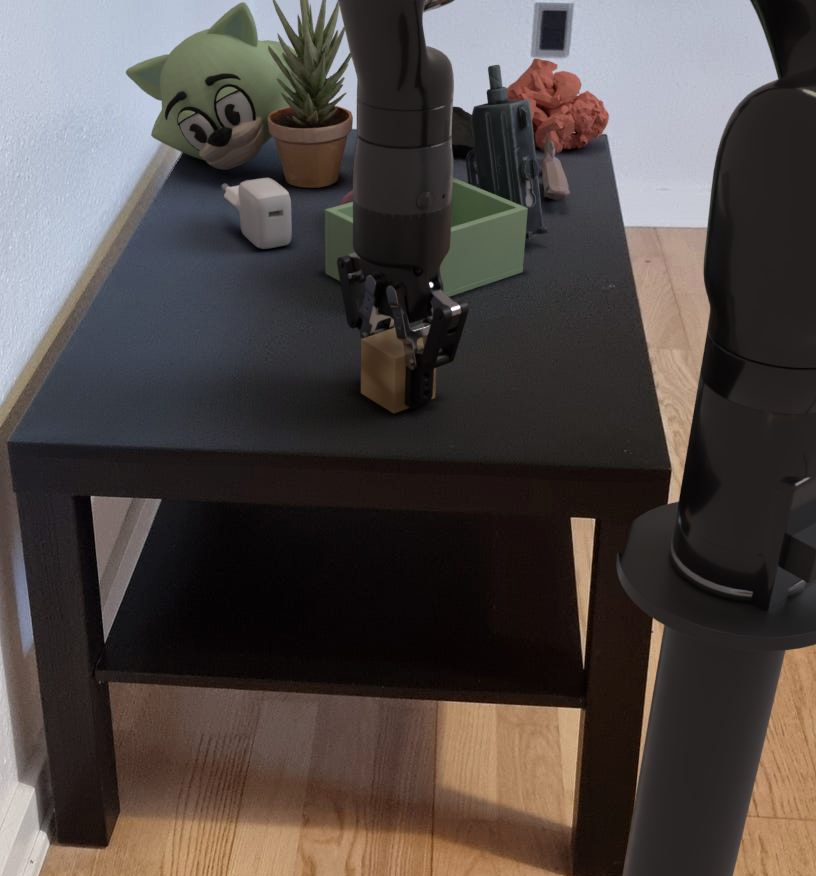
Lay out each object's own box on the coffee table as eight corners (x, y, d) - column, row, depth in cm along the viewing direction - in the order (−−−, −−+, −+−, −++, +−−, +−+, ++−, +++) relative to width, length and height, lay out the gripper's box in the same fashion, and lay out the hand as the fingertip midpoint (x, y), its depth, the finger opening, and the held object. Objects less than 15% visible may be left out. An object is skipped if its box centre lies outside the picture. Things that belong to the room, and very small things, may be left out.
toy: (177, 225, 156) (99, 121, 147) (189, 145, 169) (118, 45, 160) (328, 145, 149) (256, 31, 140) (328, 68, 162) (262, -40, 153)
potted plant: (284, 161, 159) (278, -62, 145) (361, 168, 156) (363, -58, 143) (257, 190, 151) (248, -44, 137) (338, 198, 148) (337, -39, 135)
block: (435, 398, 110) (437, 343, 107) (393, 414, 108) (395, 358, 105) (401, 378, 113) (402, 324, 110) (360, 393, 111) (360, 338, 108)
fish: (553, 171, 156) (558, 129, 153) (568, 220, 145) (574, 176, 142) (530, 171, 156) (535, 129, 153) (544, 219, 145) (549, 175, 142)
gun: (430, 69, 142) (531, 60, 130) (451, 228, 148) (549, 232, 136) (411, 74, 140) (511, 65, 129) (433, 233, 146) (530, 239, 135)
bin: (522, 272, 132) (528, 208, 128) (399, 313, 124) (401, 246, 120) (445, 237, 139) (448, 175, 136) (325, 273, 132) (324, 209, 128)
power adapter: (215, 217, 144) (212, 164, 141) (257, 210, 146) (255, 157, 143) (255, 254, 136) (252, 198, 132) (298, 246, 137) (297, 190, 134)
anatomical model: (601, 143, 166) (552, 212, 158) (514, 96, 168) (461, 162, 160) (629, 81, 158) (579, 150, 150) (538, 32, 160) (483, 99, 152)
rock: (463, 167, 157) (474, 125, 154) (413, 147, 159) (423, 106, 157) (495, 154, 164) (506, 114, 162) (446, 136, 167) (457, 96, 164)
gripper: (504, 209, 98) (490, 413, 108) (382, 158, 108) (379, 349, 117) (425, 232, 94) (418, 442, 104) (306, 177, 104) (310, 374, 113)
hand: (397, 392), depth 110 cm, fingers closed on block, 4 cm apart
